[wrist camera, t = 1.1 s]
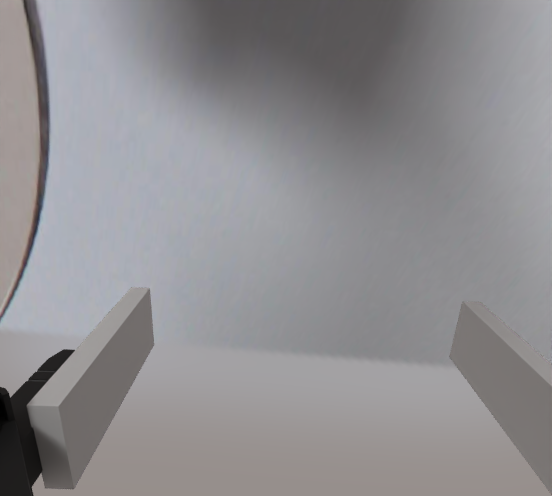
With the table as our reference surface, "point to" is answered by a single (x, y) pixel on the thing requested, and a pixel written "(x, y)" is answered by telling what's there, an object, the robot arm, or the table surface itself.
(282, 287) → the table surface
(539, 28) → the table surface
